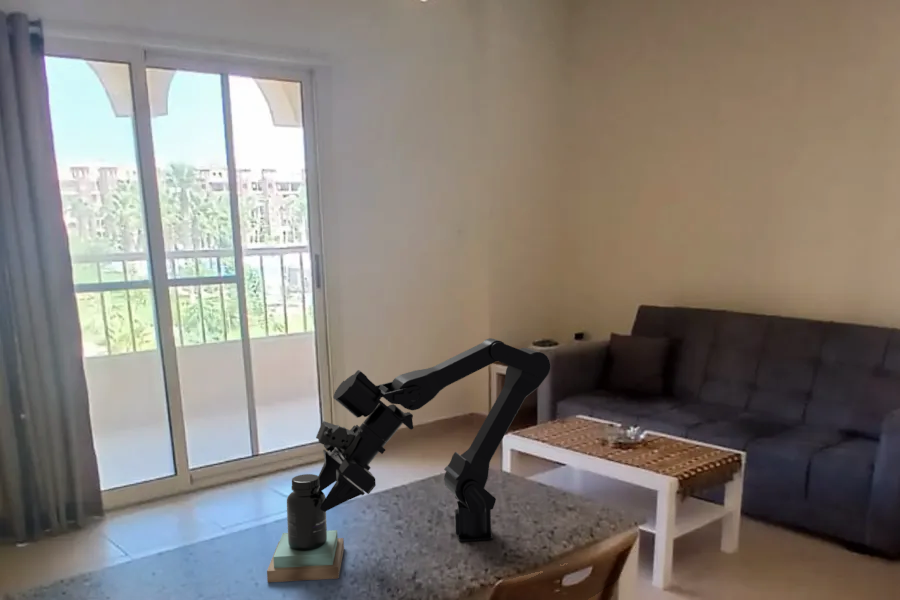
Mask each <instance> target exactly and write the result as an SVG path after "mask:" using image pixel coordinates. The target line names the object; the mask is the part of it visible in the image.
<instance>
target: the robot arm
mask: <svg viewBox="0 0 900 600" xmlns="http://www.w3.org/2000/svg"><path fill="white" fill-rule="evenodd" d="M496 362H499V363H501V364H503V365H507V367H506V368H505V369H506V370H505V377H504V384H503V387H502V389H501V391H500V393H499V394H498V397H497V398H496V399H495V401H494V403H493V405H492V407H491V409H490V410H489V412H488V414H487V416H486V418H485V419H484V421H483V423H482V425H480V426H481V427H480V428H479V430H478V432H477V434H476V436H475V437H474V439H473V441H472V443H471V445H470V446H469V447H468V449H467V450H465V451H464V452H463V453H462V454H460V453H458V452H457V451H455V452H454V453H453V454H452V457H451V459H450V461H449V463H448V465H447V466H446V467H445V468H444V471H445V473H444V476H443V481H444V485H445V487H446V489H447V490H448V491H449V492H450V493H451V494H452V495H453V496H454V498H455V499H456V500H458V501H456V508H455V509H454V513H453V515H454V533H455V535H456V536H457V538H458V541H459V542H474V541H475V542H476V541H489V540H490V541H492V540H494V539H493V538H494V536H493V533H492V510H493V509H494V506H495V504H496V500H497V499H496V497H495V496H494V495H492V494H491V493H490V492H489V491H487V489H485V487H486V486H487V485H486V484H487V482H488V479H489V471H490V465H491V460H492V459H493V457H494V455H495V454H496V451H497V450H498V448H499V446H500V445H501V442H502V440H503V439H504V437H505V436H506V434H507V432H508V430H509V428H510V426H512V425H511V424H512V423H513V421H514V419H515V418H516V415H517V414H518V413H519V410H520V409H521V406H522V404H523V403H524V401H525V400H526V398H527V397H528V396H530V395H531V394H532V393H533V392H535V391H536V390H537V389H538V388H539V387H540V386H541V385H542V384H543V382H544V381H545V380H546V378H547V377H548V376H549V374H550V372H551V368H552V365H551V363H550V359H549V357H548V356H547V354H545V353H543V352H541V351H538V350H534V349H531V348H527V347H522V348H516V347H514V346H511V345H508V344H506V343H505V342H503V341H502V340H499V339H495V338H492V337H489V338H486V339H484V341H483V342H481V343H479V344H477V345H475V346H473V347H470V348H469V349H467V350H465V351H463V352H460V353H459V354H456V355H455V356H453V357H450V358H449V359H446V360H444V361H442V362H440V363H438V364H436V365H434V366H431V367H428V368H422V369H417V370H413V371H408V372H405V373H402V374H399V375H398V376H396V377H395V378H393V380H392V381H389V382H385V383H381V384H378V385H376V384H375V383H374V382H372V381H371V379H369V378H368V376H367V375H366V374H365V373H363V372H362V371H361V370H359V369H358V370H356V371H355V373H353V374H352V375H350V376H349V377H347V378H346V379H345V380H343V381H342V382H341V383H340V384H339V385H338V387H337V388H336V390H335V391H334V393H333V399H334V400H335V401H336V402H338V403H339V404H340V405H341V406H342V407H343V408H344V409H346V410H347V411H348V412H349V413H350V414H352V415H353V416H354V417H355V418H357V419H358V418H361V417H364V418H366V419H364V420H363V422H362V423H361V424H360V425H358V424H356V425H353V426H352V427H351V428H350V429H348V428H346V427H345V426H340V425H339V424H334V423H331V422H327V421H322V422H321V424H320V427H319V430H318V431H317V434H316V437H315V438H316V439H317V440H318V443H319V444H322V446H323V447H324V449H323V451H322V453H323V460H324V463H323V465H322V467H321V470H320V472H319V474H318V476H319V484H320V488H319V490H321V491H322V492H323V491H324V490H325V489H327V488H328V487H330V486H331V485H332V484H333V486H332V487H331V489H330V491H329V492H328V493H327V494H326V495H327V496H325V497H326V498H325V500H324V502H323V503H322V505H321V507H320V509H321V510H322V511H324V512H325V511H326V512H327V511H329V510H332V509H334V508H335V507H338V506H340V505H341V504H343V503H345V502H348V501H349V500H352V499H355V498H357V497H359V496H364V495H365V494H367V495H369V494H370V493H371V492H372V491H373V489H374V488H375V487H376V485H377V484H376V478H375V476H374V475H373V474H372V472H371V471H369V470H371V466H370V464H371V463H372V461H373V460H374V459H375V457H377V455H378V454H379V453H380V455H383V454H384V453H385V451H386V448H385V446H386V444H387V443H388V442H389V441H390V440H391V438H392V437H393V436H394V435H395V433H397V431H398V430H399V429H400V427H401V426H402V425H404V426H406V427H407V428H408V429H409V430H414V423H413V419H414V418H413V417H414V416H413V415H414V414H413V413H411V412H410V411H416V410H419V409H420V410H421V409H422V408H423V407H424V406H425V405H427V404H428V403H430V402H431V401H433V400H434V399H435V398H436V396H437V395H438V394H439V393H440V392H441V391H442V390H443V389H445V388H446V387H448V386H450V385H451V384H452V385H453V384H454V383H457V382H458V381H460V380H462V379H464V378H466V377H468V376H470V375H472V374H474V373H475V372H478V371H480V370H482V369H484V368H486V367H488V366H490V365H492V364H494V363H496ZM382 398H383V399H385V400H386V401H387V402H388V403H390V404H389V405H387V404H385V402H383V401H381V399H382ZM397 405H400V406H401V407H402V408H404V409H406V410H408V411H407V412H404V411H402V410H401V409H400V408H399V407H398V406H397Z"/></svg>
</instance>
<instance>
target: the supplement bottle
mask: <svg viewBox="0 0 900 600" xmlns="http://www.w3.org/2000/svg"><path fill="white" fill-rule="evenodd" d="M319 488H320V484H319V475H317V474H313V473H312V474H311V473H306V474H305V473H304V474H298V475H296V476H294V477H292V478H291V491H292V492H290V493H289V495H288V496H287V498H286V517H287V519H286V520H287V521H286V523H287V533H288V544H289V546H290V547H291V548H292V549H295V550H300V551H307V550H314V549H317V548H320V547H321V546H323V545H324V544H325V543H326V541H327V531H328V529H327V511H325V512H324V511H322V510H321V509H320V507H321V505H322V503H323V502H324V500H325V498H326V497H327V496H326V494H325V493H324V491H323V490H322V491H321V490H319Z"/></svg>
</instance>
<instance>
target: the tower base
mask: <svg viewBox="0 0 900 600" xmlns="http://www.w3.org/2000/svg"><path fill="white" fill-rule="evenodd" d="M344 541H345V540H344V537H338V529H336V530H334V529H333V530H327V541H326V543H325V544H324V545H323V546H321V547H320V548H317V549H314V550H307V551H300V550H295V549H292V548H291V547H290V546H289V544H288V532H282V534H281V537H280V539H279V541H278V542H277V545H276V548H275V550H274V552H273V554H272V558H271V559H270V562H269V565H268V567H267V570H266V578H267V579H266V581H267V582H266V583H280V582H281V583H282V582H283V583H284V582H295V581H296V582H299V581H314V580H315V581H317V580H333V579H334V580H335V579H336V580H337V579H339V578H340V572H341V567H342V561H343V555H344V550H345V543H344Z"/></svg>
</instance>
